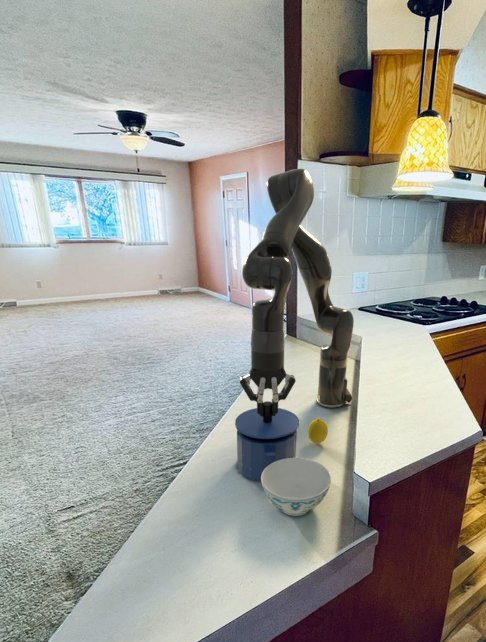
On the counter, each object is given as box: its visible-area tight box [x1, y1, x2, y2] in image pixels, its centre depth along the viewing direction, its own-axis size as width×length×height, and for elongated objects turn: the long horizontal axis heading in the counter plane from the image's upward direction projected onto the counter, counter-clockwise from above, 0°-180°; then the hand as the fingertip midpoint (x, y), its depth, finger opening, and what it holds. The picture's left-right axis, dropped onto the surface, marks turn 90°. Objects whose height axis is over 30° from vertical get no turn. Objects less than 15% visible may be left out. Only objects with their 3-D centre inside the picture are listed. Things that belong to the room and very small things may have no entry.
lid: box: [234, 400, 300, 439], centre depth 100 cm, size 16×16×6 cm
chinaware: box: [260, 457, 332, 517], centre depth 90 cm, size 15×15×8 cm
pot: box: [236, 429, 298, 482], centre depth 103 cm, size 15×20×10 cm
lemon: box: [307, 418, 329, 445], centre depth 115 cm, size 6×6×8 cm
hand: (267, 414), depth 100 cm, fingers closed on lid, 2 cm apart
